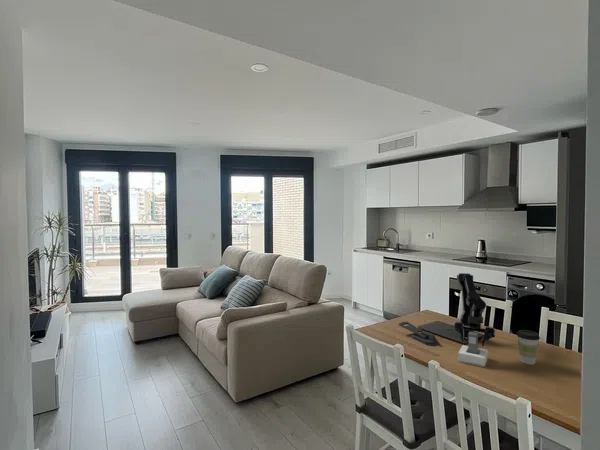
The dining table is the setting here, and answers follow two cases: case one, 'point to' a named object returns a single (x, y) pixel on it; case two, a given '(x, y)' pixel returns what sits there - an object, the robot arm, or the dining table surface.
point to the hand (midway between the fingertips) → (472, 344)
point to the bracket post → (473, 342)
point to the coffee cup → (528, 346)
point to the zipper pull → (420, 334)
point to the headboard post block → (473, 356)
